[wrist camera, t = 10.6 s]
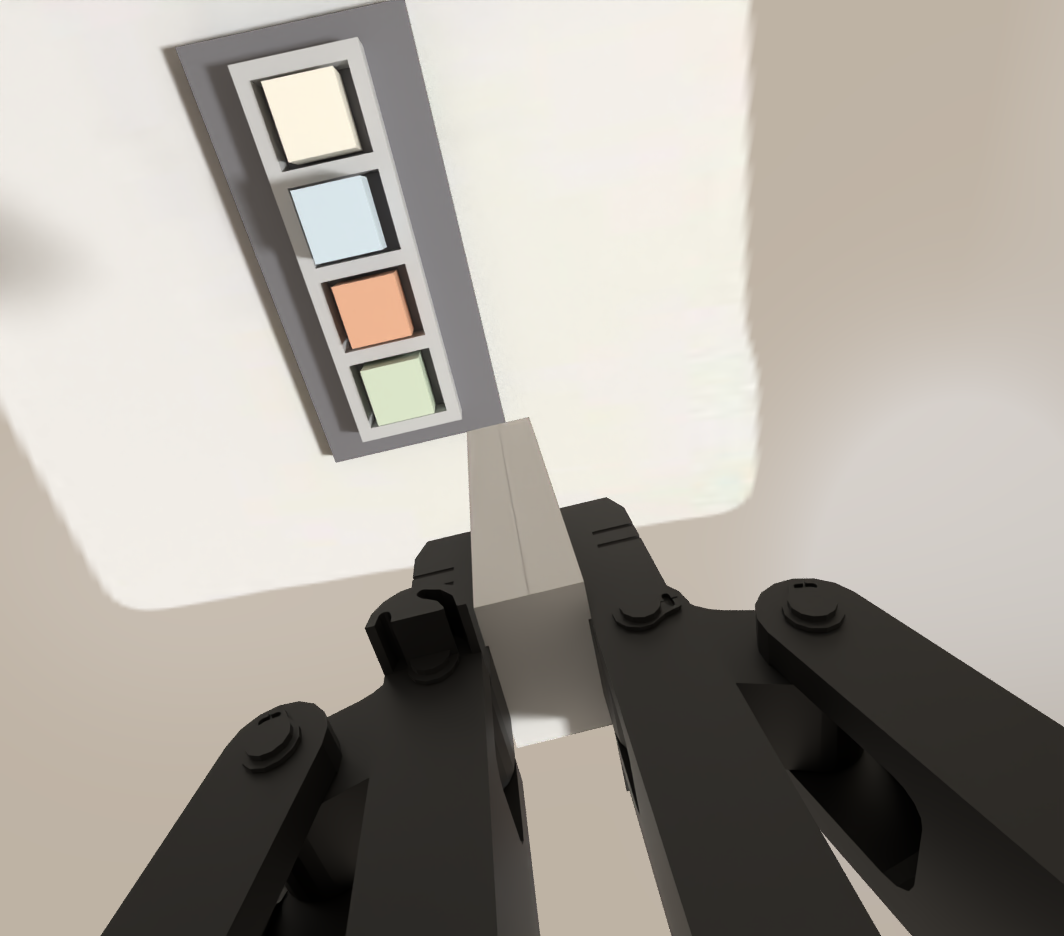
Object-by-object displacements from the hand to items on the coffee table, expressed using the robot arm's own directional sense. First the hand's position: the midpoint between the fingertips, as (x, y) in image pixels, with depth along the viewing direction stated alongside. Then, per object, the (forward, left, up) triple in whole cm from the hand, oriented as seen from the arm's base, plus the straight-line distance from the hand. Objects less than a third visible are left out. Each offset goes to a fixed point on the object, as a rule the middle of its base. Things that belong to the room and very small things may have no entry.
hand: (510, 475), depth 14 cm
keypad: (-4, -6, -26) cm, 27 cm away
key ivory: (-12, -6, -25) cm, 28 cm away
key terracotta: (-2, -6, -25) cm, 26 cm away
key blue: (-7, -6, -23) cm, 25 cm away
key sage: (+3, -6, -25) cm, 26 cm away
